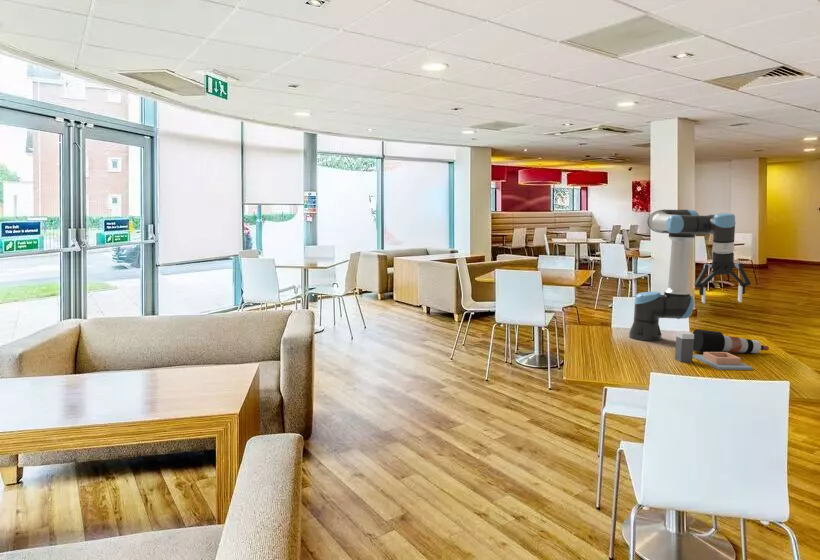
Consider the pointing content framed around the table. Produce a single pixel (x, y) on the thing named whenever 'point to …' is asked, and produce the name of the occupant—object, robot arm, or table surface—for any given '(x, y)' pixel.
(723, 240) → the robot arm
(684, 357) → the plug
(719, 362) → the dock
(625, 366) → the table surface
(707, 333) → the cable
